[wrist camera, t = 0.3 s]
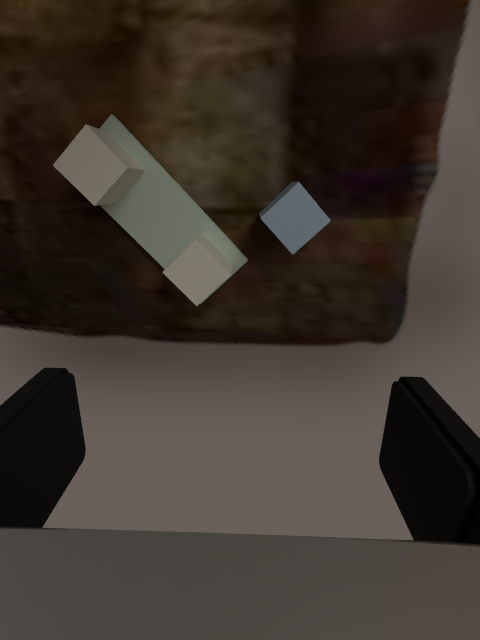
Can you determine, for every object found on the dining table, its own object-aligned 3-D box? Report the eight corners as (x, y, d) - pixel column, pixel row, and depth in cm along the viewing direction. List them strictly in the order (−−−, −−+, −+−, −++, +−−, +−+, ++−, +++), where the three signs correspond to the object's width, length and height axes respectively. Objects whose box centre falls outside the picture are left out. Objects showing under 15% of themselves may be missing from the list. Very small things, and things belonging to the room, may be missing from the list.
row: (69, 171, 41) (34, 168, 34) (114, 115, 39) (87, 102, 32) (201, 301, 46) (193, 321, 39) (247, 258, 44) (247, 272, 37)
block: (258, 213, 42) (260, 218, 36) (291, 182, 41) (298, 181, 35) (287, 245, 43) (292, 254, 38) (319, 215, 42) (330, 220, 36)
